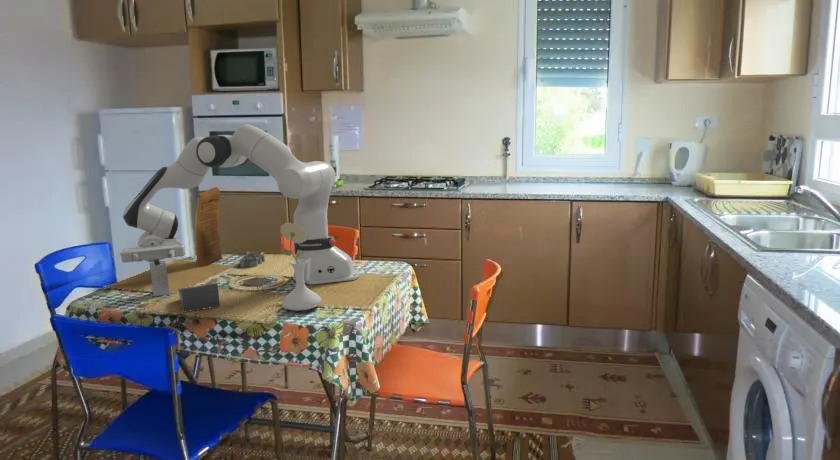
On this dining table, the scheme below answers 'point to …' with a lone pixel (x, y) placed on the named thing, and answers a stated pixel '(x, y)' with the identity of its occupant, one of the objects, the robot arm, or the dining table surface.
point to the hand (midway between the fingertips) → (154, 257)
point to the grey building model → (251, 259)
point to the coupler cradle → (199, 297)
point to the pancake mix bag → (208, 227)
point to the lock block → (159, 278)
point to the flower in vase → (298, 273)
